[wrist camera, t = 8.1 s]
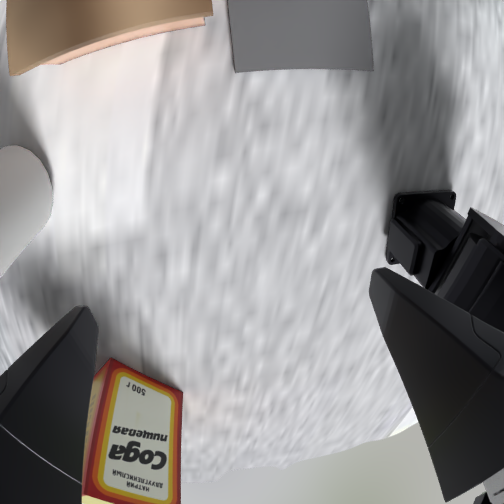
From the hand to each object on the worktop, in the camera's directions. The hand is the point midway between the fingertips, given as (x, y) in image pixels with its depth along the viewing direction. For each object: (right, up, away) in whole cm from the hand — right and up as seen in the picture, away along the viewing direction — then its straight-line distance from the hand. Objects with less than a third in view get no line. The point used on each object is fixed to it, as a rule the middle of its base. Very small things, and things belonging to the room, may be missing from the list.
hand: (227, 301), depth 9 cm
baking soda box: (-13, -14, +23) cm, 30 cm away
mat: (+4, +18, +5) cm, 19 cm away
